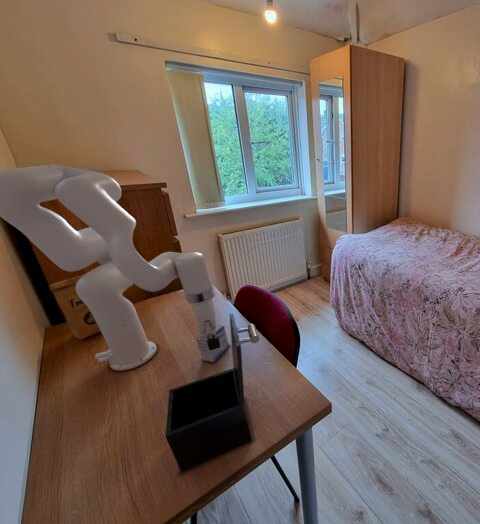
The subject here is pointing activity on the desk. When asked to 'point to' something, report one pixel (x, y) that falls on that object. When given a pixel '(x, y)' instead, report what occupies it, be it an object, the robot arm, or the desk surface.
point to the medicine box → (214, 354)
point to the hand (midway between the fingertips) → (214, 339)
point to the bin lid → (237, 351)
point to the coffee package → (74, 308)
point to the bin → (206, 420)
